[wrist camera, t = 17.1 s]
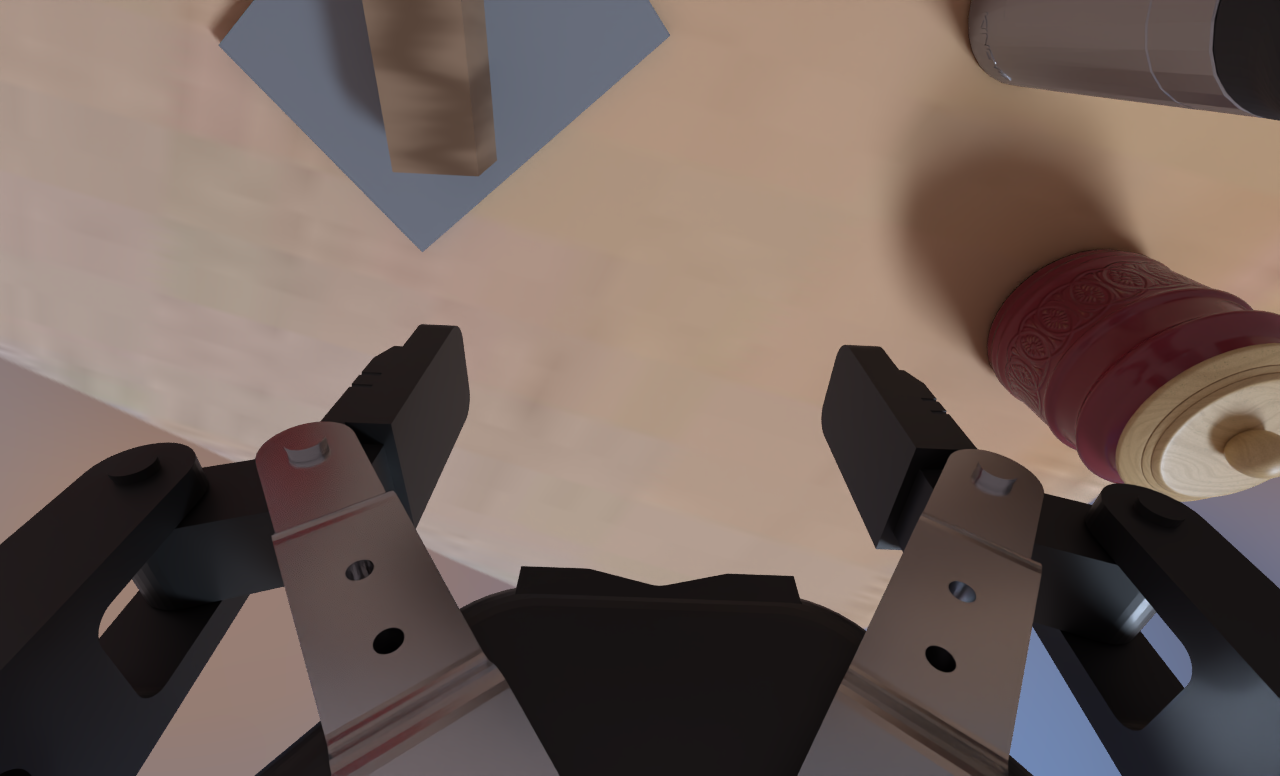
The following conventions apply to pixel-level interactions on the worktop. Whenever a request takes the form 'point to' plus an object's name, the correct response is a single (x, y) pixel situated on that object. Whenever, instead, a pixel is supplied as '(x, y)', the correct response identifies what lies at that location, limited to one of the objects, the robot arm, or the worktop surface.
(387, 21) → the walnut block
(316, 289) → the worktop surface
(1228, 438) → the canister
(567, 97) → the grey mat
